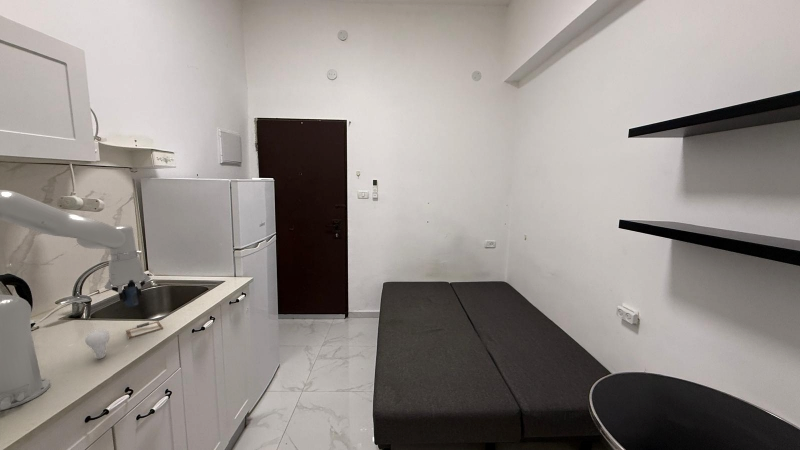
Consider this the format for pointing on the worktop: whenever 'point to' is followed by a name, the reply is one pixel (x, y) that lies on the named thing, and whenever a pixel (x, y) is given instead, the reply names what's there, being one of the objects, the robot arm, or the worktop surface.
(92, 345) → the lightbulb
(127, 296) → the vaping device
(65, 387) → the worktop surface
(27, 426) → the worktop surface
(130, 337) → the clipboard
